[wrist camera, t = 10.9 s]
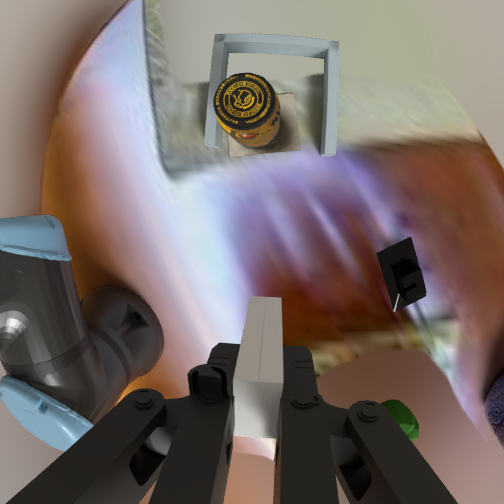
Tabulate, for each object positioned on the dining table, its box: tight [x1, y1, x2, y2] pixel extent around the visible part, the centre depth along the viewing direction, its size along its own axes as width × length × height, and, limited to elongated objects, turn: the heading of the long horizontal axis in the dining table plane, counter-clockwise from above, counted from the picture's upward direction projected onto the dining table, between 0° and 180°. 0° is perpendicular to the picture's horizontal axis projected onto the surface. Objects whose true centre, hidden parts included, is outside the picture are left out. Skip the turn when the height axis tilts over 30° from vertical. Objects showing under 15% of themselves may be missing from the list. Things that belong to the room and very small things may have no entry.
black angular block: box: [377, 237, 427, 312], centre depth 35 cm, size 12×7×5 cm, turn 25°
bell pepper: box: [381, 400, 419, 442], centre depth 38 cm, size 8×8×10 cm
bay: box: [204, 34, 339, 157], centre depth 31 cm, size 14×14×4 cm
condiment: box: [213, 73, 300, 157], centre depth 28 cm, size 7×8×12 cm
